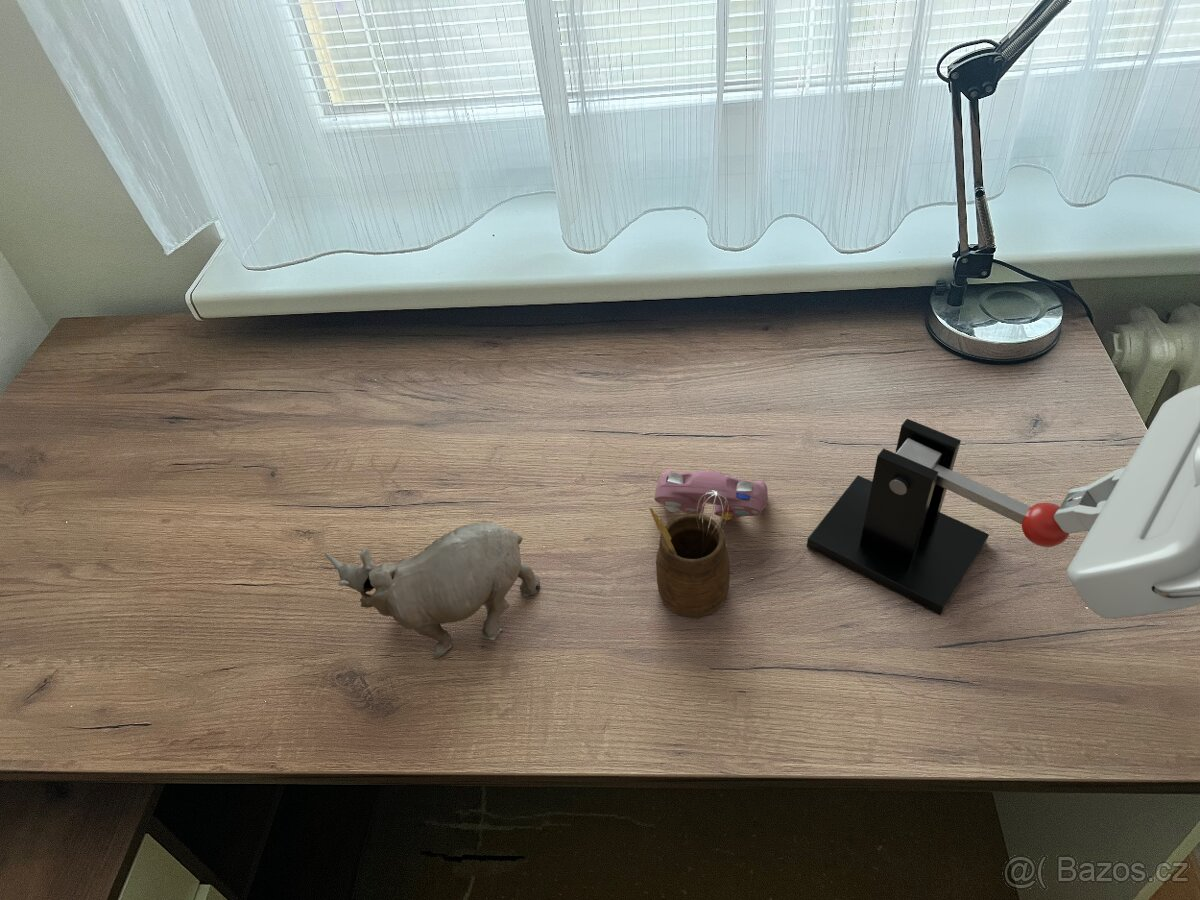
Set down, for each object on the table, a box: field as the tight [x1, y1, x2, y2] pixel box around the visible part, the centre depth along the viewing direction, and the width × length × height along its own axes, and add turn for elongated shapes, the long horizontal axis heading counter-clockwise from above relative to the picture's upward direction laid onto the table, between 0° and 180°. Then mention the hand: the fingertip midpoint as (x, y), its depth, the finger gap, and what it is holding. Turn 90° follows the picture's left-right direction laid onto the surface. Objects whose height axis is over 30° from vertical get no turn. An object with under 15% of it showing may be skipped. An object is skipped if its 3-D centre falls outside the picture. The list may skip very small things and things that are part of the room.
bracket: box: [806, 418, 989, 616], centre depth 71 cm, size 12×9×12 cm
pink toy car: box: [654, 469, 769, 521], centre depth 77 cm, size 10×5×7 cm
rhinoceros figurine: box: [324, 522, 541, 659], centre depth 70 cm, size 8×14×15 cm
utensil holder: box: [648, 490, 731, 618], centre depth 69 cm, size 6×6×12 cm
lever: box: [896, 438, 1071, 548], centre depth 65 cm, size 13×3×3 cm, turn 51°
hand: (1065, 511), depth 62 cm, fingers closed, pressing on lever
